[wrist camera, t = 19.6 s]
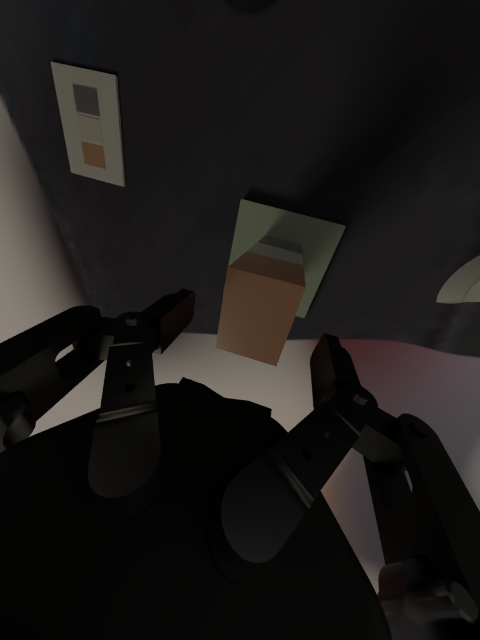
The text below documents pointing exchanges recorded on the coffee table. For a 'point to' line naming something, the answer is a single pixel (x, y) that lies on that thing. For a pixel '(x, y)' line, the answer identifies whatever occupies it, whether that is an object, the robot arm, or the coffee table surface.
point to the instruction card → (91, 122)
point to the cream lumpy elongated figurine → (462, 284)
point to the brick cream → (276, 253)
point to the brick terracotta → (259, 306)
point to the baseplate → (288, 240)
